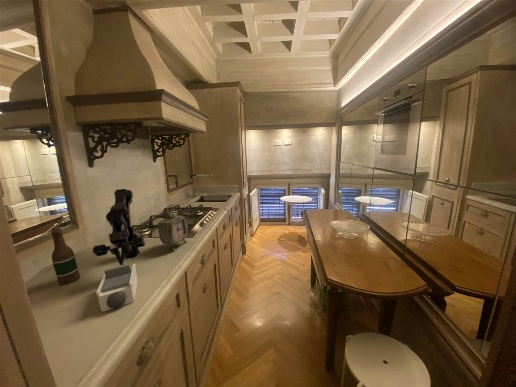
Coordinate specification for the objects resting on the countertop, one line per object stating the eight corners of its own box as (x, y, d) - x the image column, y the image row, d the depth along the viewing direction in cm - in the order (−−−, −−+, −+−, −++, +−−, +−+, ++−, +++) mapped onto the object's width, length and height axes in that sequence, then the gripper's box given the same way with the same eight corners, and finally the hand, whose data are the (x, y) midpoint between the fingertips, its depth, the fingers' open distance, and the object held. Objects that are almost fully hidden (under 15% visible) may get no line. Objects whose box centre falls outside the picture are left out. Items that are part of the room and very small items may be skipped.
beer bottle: (62, 278, 97) (48, 228, 92) (83, 273, 100) (71, 225, 95) (54, 287, 90) (39, 235, 85) (77, 282, 93) (63, 231, 88)
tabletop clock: (174, 253, 115) (167, 208, 110) (160, 252, 117) (153, 208, 112) (189, 241, 129) (184, 201, 123) (177, 240, 131) (171, 201, 126)
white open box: (109, 287, 88) (106, 270, 87) (138, 279, 93) (135, 263, 91) (100, 314, 73) (95, 295, 71) (134, 303, 77) (130, 285, 76)
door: (107, 279, 83) (105, 269, 82) (131, 272, 86) (129, 263, 86) (101, 292, 75) (99, 282, 74) (129, 284, 78) (127, 275, 78)
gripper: (88, 228, 87) (87, 265, 80) (139, 219, 95) (142, 252, 87) (97, 239, 96) (96, 273, 89) (143, 230, 103) (146, 261, 96)
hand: (121, 264), depth 90 cm, fingers closed
